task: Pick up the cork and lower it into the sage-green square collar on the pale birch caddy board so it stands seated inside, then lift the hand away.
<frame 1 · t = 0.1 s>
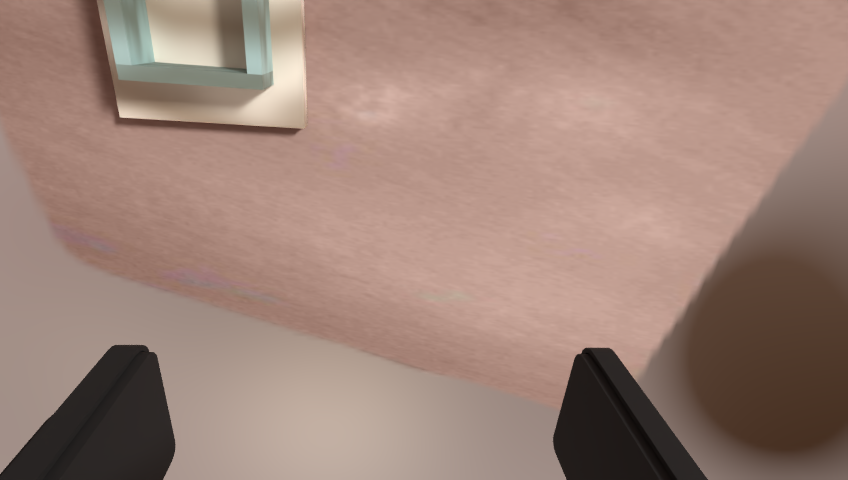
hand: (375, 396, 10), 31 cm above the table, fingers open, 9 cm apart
shaker caddy: (208, 11, 34), on the table
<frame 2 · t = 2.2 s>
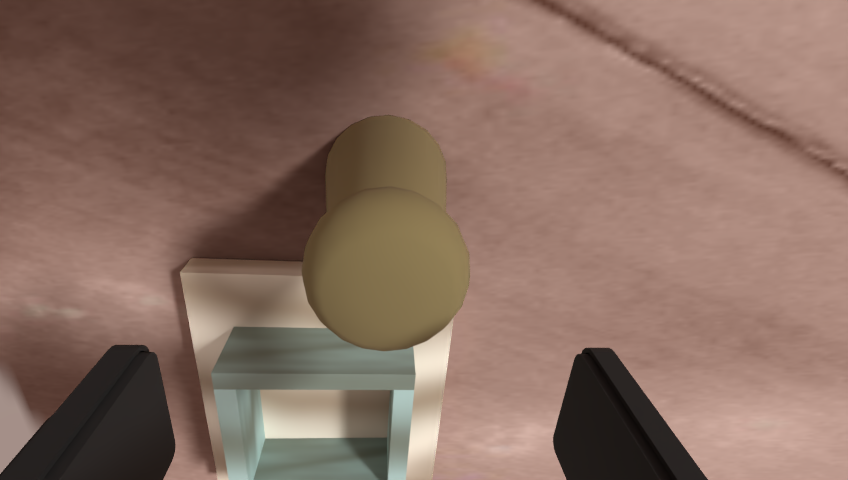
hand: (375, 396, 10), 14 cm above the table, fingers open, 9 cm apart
shaker caddy: (328, 375, 28), on the table
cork: (386, 175, 23), on the table
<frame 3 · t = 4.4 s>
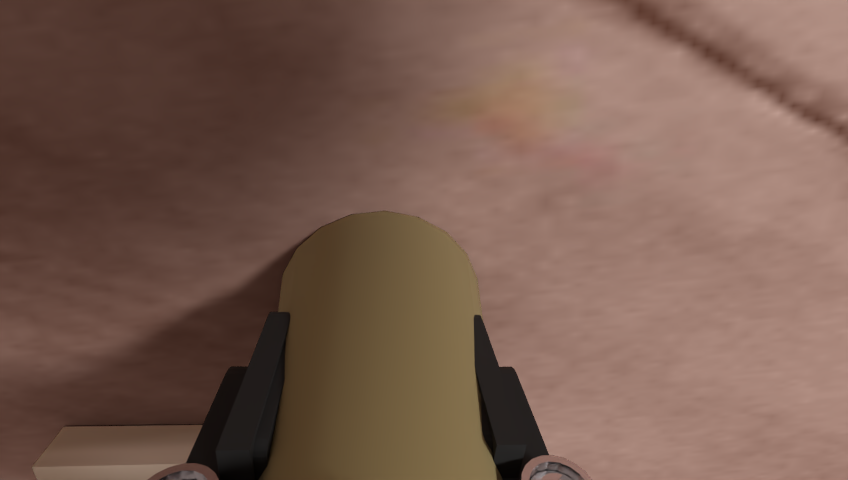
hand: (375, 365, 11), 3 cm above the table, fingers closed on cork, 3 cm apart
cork: (381, 299, 14), on the table, touching gripper
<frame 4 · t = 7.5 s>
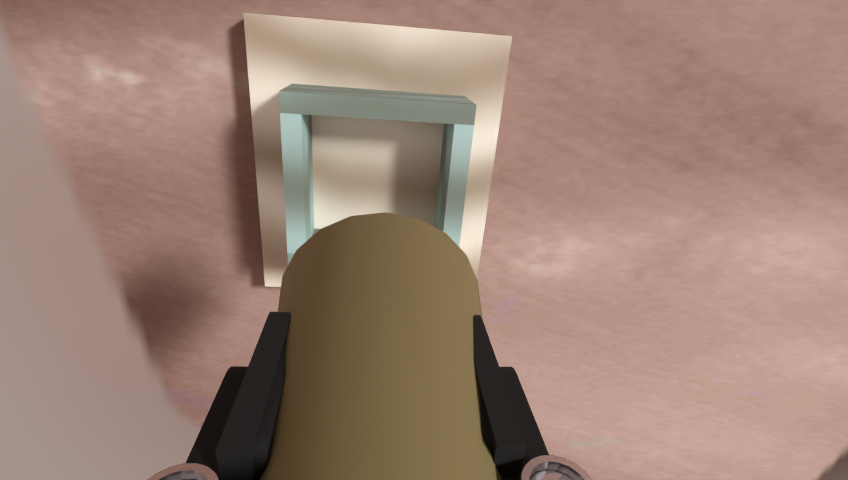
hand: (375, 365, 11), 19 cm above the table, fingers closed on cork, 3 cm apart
shaker caddy: (377, 166, 28), on the table
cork: (381, 301, 14), point 16 cm above the table, touching gripper
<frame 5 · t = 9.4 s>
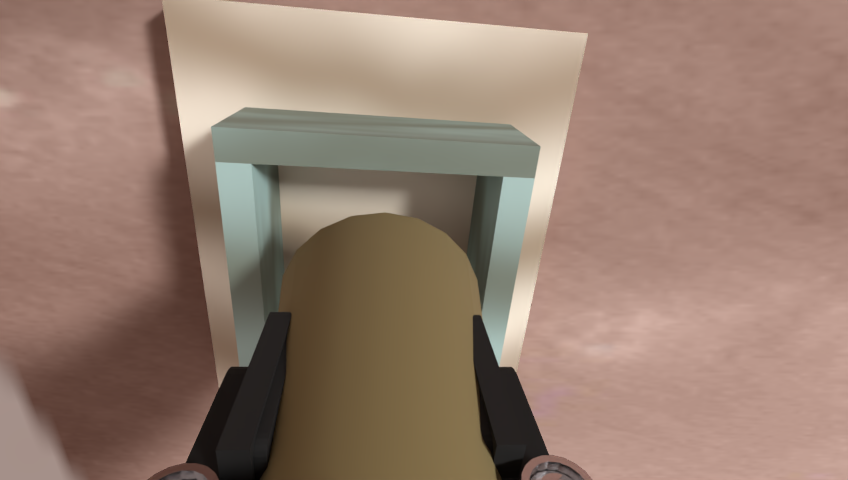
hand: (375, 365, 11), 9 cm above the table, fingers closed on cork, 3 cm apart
shaker caddy: (377, 221, 19), on the table
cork: (381, 300, 14), point 6 cm above the table, touching gripper
when the fingers open (7 cm above the table, at t = 10.8 s): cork stays where it is, point 3 cm above the table.
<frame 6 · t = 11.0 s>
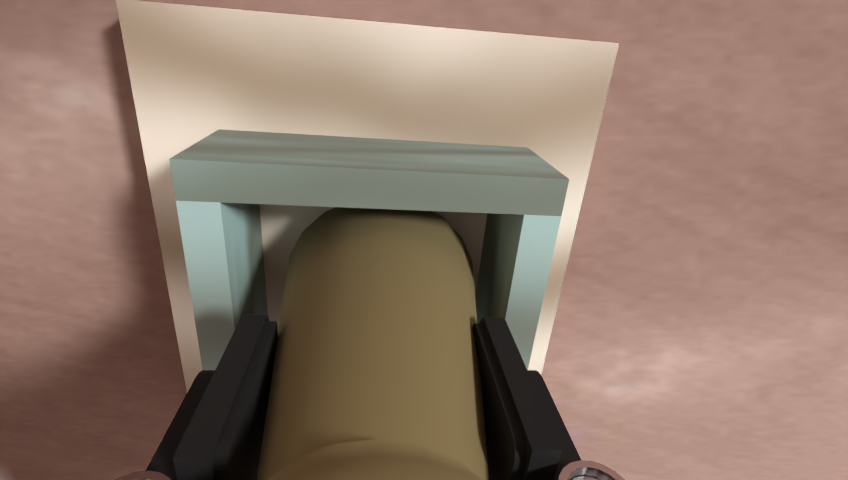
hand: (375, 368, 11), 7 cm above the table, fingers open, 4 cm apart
shaker caddy: (374, 254, 17), on the table
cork: (381, 281, 15), point 3 cm above the table, touching gripper
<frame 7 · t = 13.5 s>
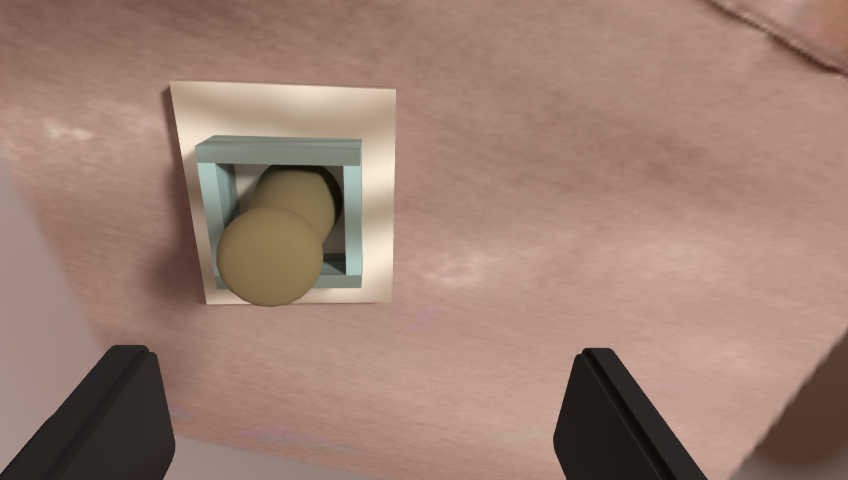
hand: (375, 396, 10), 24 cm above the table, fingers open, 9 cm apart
shaker caddy: (297, 198, 33), on the table
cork: (299, 199, 32), point 1 cm above the table, touching shaker caddy
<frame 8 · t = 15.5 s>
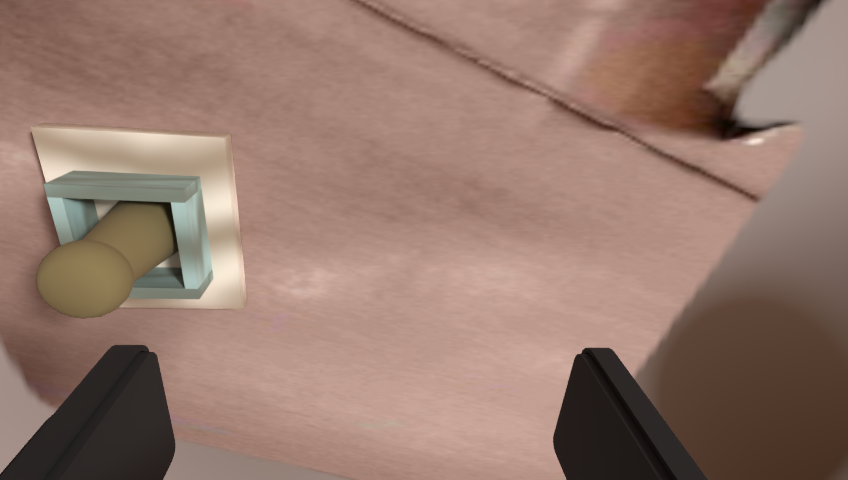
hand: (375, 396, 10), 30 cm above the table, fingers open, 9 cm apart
shaker caddy: (156, 221, 39), on the table
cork: (153, 223, 38), point 1 cm above the table, touching shaker caddy
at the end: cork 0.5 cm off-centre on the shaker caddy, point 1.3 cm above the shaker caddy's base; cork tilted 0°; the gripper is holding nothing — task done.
